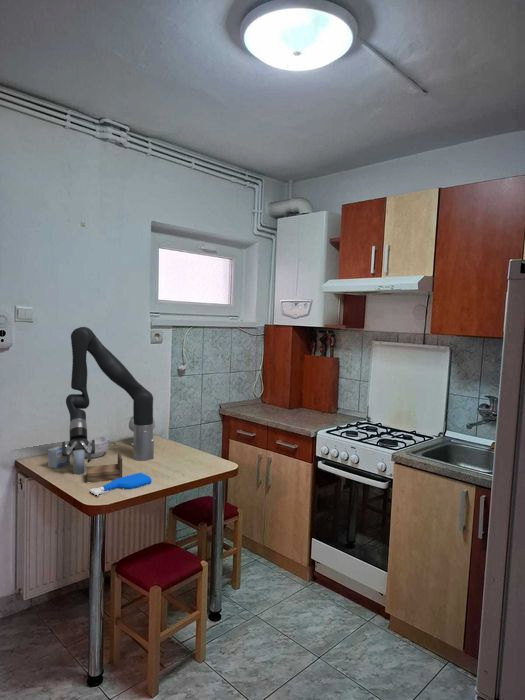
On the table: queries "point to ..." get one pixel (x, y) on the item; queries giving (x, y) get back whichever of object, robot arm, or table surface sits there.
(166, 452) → the table surface
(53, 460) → the medicine box
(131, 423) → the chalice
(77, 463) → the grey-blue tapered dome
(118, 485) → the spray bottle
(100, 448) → the paper bowls
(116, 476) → the shelf step
